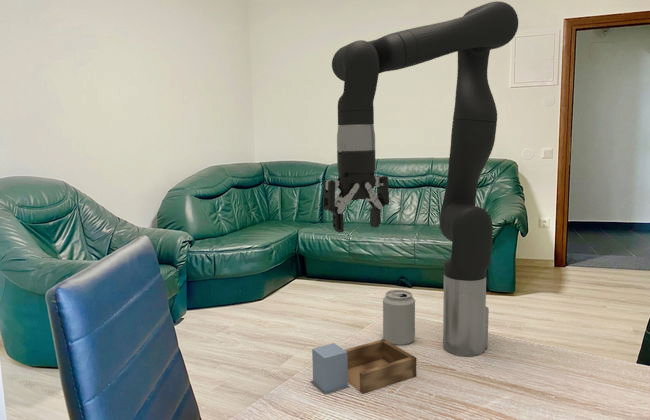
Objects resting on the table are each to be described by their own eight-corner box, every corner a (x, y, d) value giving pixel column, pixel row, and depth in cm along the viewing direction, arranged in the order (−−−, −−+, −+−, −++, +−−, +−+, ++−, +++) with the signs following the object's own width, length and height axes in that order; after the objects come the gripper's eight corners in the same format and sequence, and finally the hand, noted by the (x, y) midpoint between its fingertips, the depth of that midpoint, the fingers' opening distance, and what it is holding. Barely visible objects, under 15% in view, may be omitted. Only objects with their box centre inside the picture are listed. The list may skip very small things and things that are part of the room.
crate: (383, 358, 111) (383, 339, 110) (416, 378, 101) (416, 357, 101) (333, 373, 104) (332, 353, 104) (362, 396, 95) (362, 374, 94)
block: (334, 375, 102) (333, 342, 101) (347, 385, 98) (347, 352, 97) (313, 382, 100) (312, 348, 99) (325, 392, 95) (324, 358, 94)
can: (414, 348, 115) (414, 298, 113) (381, 346, 117) (381, 297, 115) (415, 336, 122) (415, 288, 121) (384, 334, 124) (384, 287, 122)
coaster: (333, 377, 103) (333, 374, 103) (349, 389, 98) (349, 386, 97) (310, 384, 100) (310, 381, 100) (325, 397, 95) (325, 394, 95)
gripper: (374, 147, 105) (375, 223, 108) (315, 149, 98) (317, 230, 101) (396, 147, 99) (396, 228, 101) (334, 150, 92) (336, 236, 94)
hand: (357, 229), depth 101 cm, fingers open, 8 cm apart
